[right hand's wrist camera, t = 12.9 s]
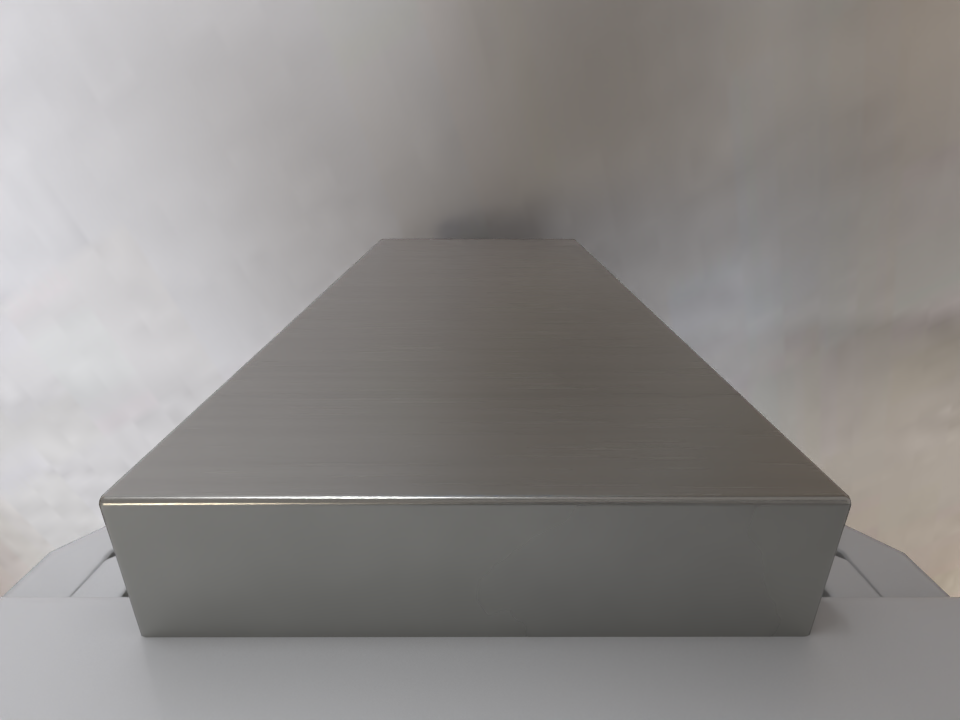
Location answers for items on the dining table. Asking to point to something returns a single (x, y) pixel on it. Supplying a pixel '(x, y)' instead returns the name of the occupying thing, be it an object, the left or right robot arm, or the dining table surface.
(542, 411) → the box
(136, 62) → the dining table surface
